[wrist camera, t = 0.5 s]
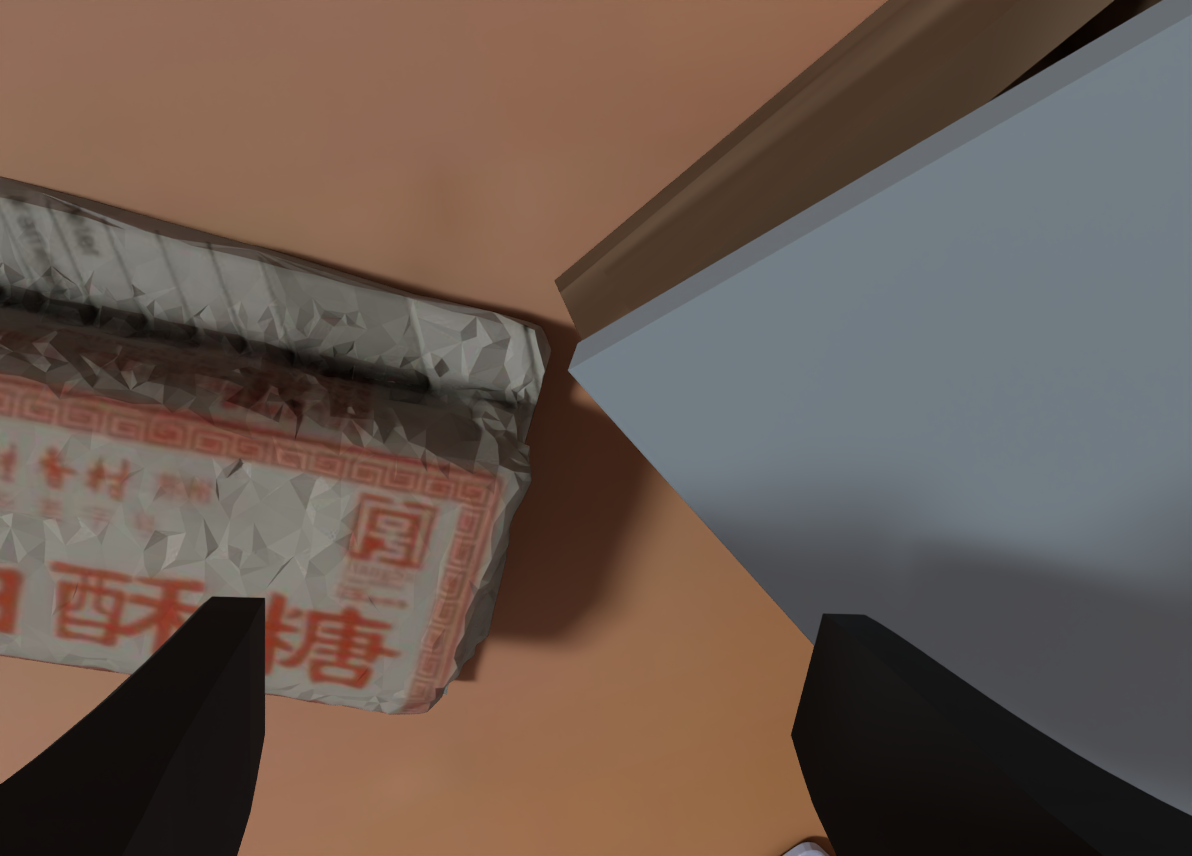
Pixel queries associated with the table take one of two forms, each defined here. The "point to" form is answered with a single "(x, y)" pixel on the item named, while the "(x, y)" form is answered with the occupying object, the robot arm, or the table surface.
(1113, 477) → the lid
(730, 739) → the table surface
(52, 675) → the table surface
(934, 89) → the box
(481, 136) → the table surface
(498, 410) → the packaged product
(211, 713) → the robot arm
